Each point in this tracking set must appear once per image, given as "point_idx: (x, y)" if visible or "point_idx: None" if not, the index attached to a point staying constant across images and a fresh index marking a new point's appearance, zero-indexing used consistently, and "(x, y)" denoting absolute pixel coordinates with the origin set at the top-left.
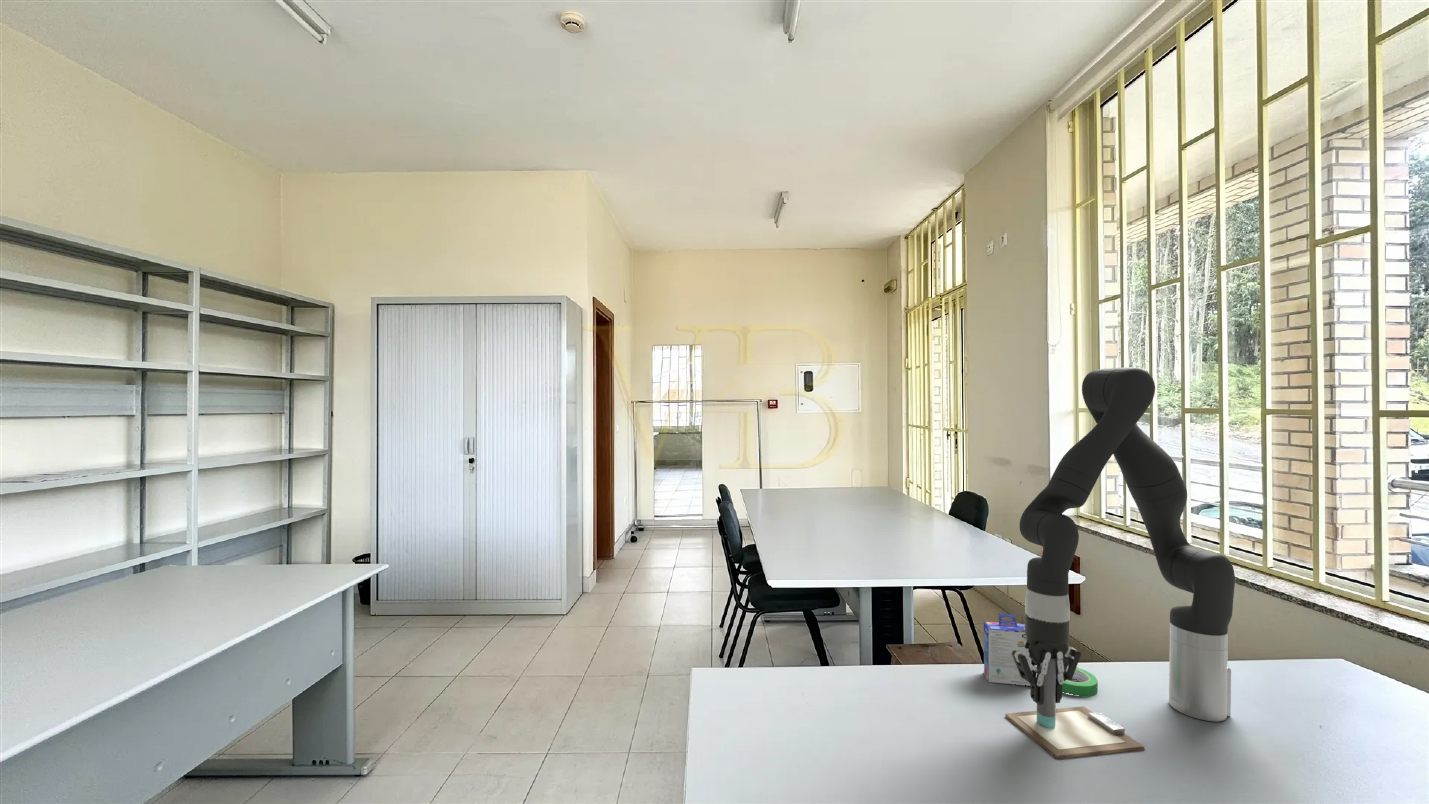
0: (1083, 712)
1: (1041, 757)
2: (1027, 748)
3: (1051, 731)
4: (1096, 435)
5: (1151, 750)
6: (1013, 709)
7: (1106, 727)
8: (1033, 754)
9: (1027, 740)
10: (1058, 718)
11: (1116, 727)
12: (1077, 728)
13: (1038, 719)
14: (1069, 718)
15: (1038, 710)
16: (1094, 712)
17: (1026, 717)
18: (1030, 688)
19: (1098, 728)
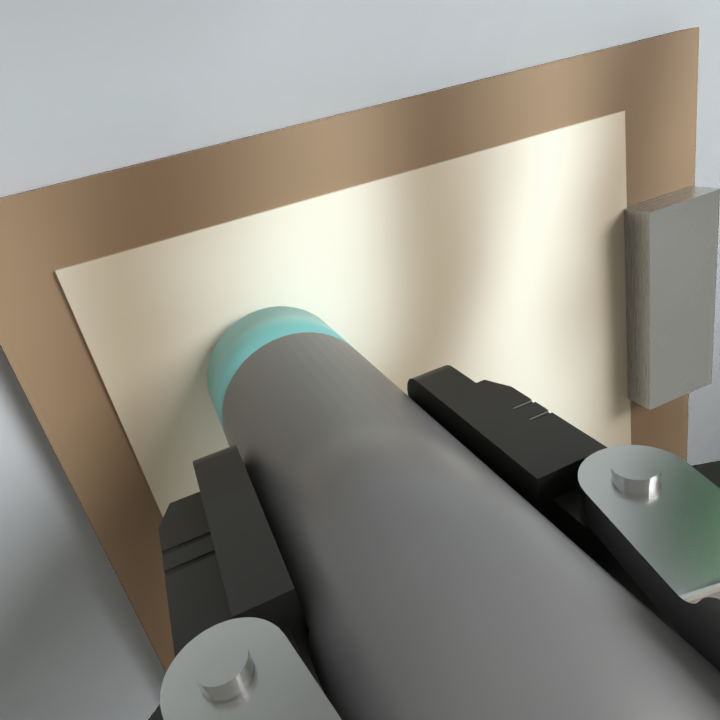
0: (638, 131)
1: (86, 709)
2: (16, 649)
3: None
4: None
5: (694, 457)
6: (86, 44)
7: (637, 358)
8: (39, 699)
9: (51, 553)
10: (417, 252)
11: (681, 379)
12: (472, 373)
13: (215, 409)
14: (495, 242)
15: (229, 446)
16: (689, 201)
17: (148, 274)
18: (168, 597)
19: (593, 348)
